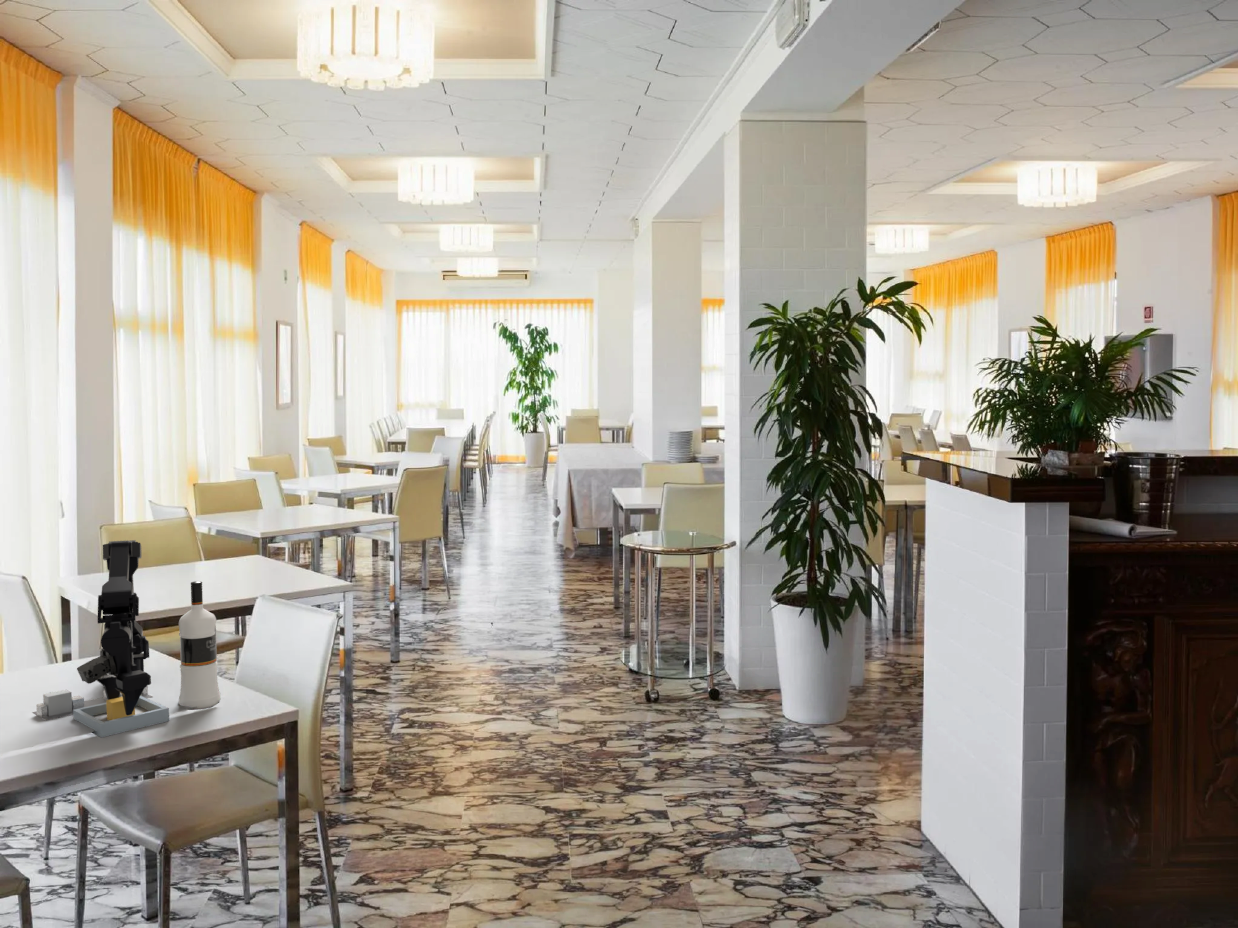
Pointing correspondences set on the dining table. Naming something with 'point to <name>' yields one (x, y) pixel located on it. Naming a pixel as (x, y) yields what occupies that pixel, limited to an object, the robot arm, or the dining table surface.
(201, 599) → the vodka
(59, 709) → the block
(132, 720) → the tray
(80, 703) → the board
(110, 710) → the block
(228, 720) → the dining table surface
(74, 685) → the dining table surface
